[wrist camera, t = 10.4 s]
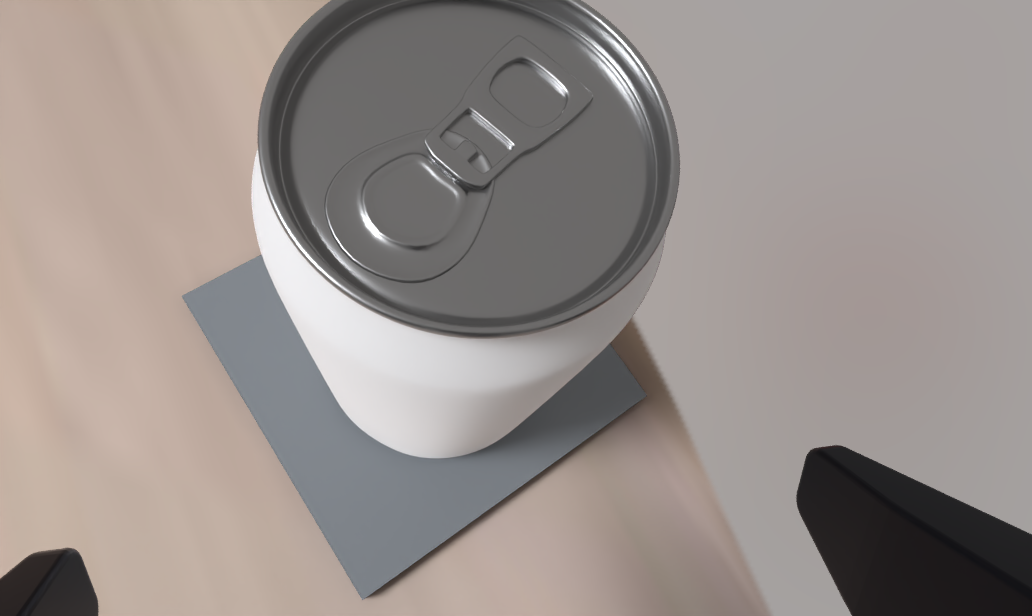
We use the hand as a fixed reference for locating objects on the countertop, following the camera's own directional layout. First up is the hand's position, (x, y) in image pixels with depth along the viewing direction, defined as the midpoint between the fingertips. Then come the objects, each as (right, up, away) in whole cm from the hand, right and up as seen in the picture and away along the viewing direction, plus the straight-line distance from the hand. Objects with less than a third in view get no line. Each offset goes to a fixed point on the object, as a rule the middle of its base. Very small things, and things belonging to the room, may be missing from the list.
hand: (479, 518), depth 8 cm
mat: (-2, +1, +12) cm, 12 cm away
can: (-2, +1, +12) cm, 12 cm away
